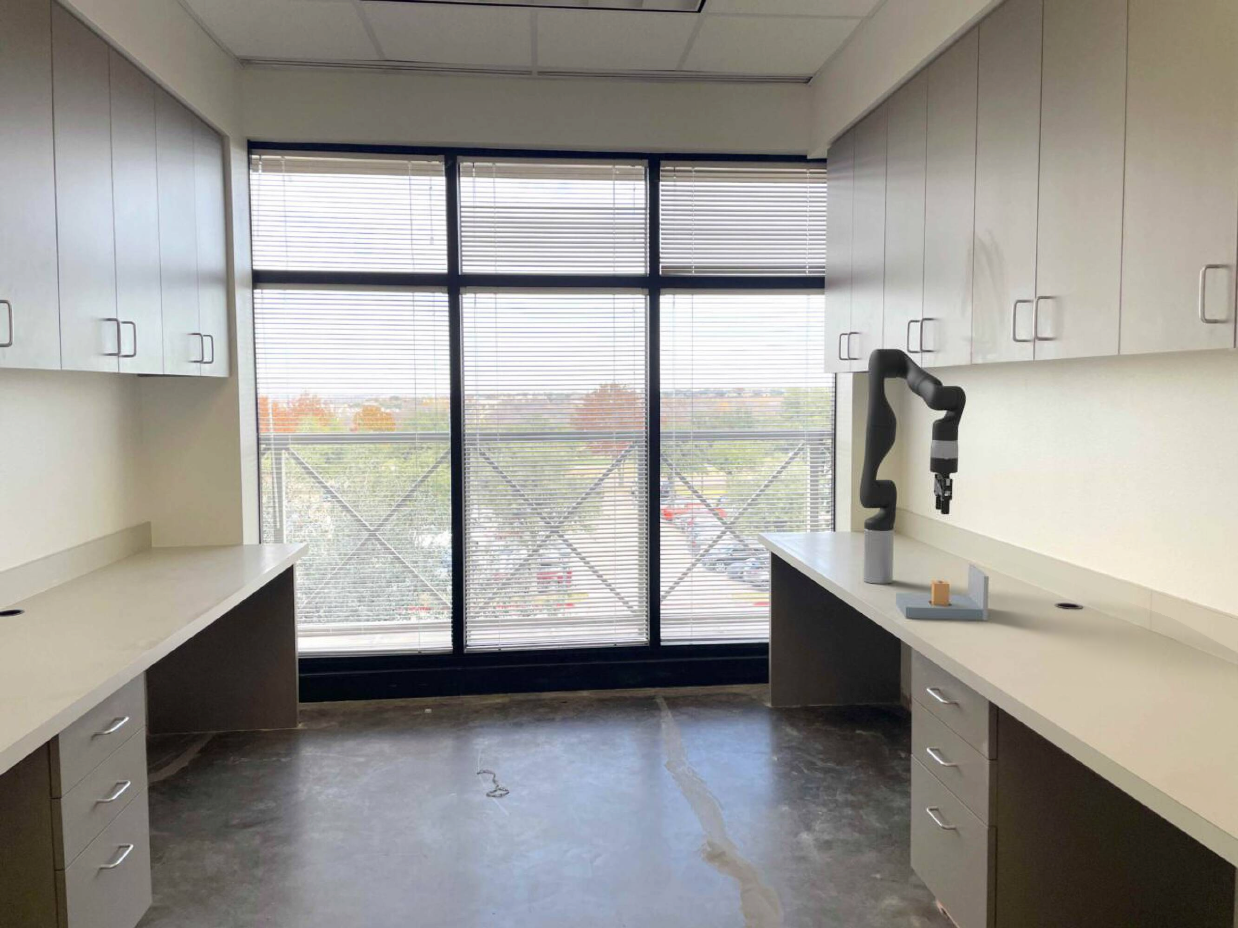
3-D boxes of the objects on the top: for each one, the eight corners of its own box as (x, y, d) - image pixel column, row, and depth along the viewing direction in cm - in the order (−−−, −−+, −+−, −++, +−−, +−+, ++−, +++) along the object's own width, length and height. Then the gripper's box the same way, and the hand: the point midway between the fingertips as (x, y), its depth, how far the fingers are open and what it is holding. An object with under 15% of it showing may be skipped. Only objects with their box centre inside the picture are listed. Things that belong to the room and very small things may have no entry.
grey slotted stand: (895, 603, 266) (896, 562, 266) (971, 605, 263) (973, 564, 262) (905, 617, 249) (906, 574, 248) (987, 620, 246) (988, 576, 245)
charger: (931, 612, 255) (931, 579, 255) (946, 612, 255) (946, 580, 254) (933, 615, 251) (934, 582, 251) (948, 616, 251) (949, 583, 250)
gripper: (926, 453, 270) (924, 508, 271) (935, 458, 256) (933, 515, 257) (952, 453, 268) (950, 508, 270) (963, 458, 254) (961, 516, 256)
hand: (942, 511), depth 264 cm, fingers open, 8 cm apart
